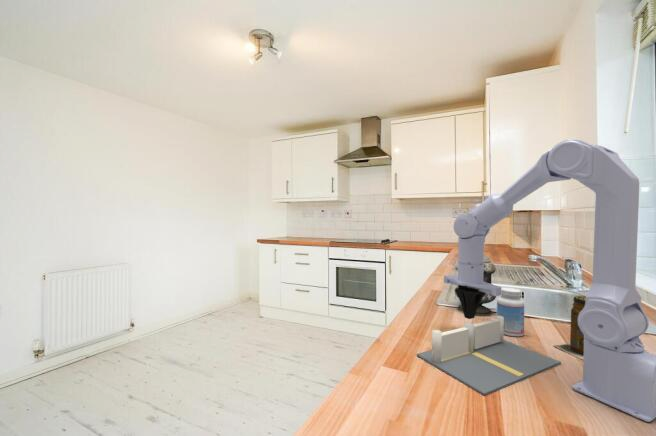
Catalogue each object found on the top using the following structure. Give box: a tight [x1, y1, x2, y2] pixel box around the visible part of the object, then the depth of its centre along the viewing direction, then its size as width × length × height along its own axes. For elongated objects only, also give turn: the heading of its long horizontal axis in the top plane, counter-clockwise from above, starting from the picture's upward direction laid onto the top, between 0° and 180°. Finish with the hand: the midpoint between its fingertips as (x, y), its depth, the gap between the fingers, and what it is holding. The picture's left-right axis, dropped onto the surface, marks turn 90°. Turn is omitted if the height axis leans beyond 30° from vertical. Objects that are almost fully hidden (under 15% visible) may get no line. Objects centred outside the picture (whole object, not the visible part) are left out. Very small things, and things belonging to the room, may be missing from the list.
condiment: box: [552, 295, 586, 361], centre depth 65 cm, size 7×8×12 cm
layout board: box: [416, 339, 562, 396], centre depth 61 cm, size 16×24×1 cm, turn 117°
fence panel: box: [473, 315, 504, 349], centre depth 67 cm, size 10×2×6 cm, turn 117°
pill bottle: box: [496, 287, 525, 337], centre depth 76 cm, size 6×6×11 cm
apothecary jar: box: [454, 254, 497, 316], centre depth 94 cm, size 12×12×18 cm
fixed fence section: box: [431, 321, 475, 363], centre depth 62 cm, size 12×2×6 cm, turn 117°
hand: (469, 317), depth 72 cm, fingers closed
